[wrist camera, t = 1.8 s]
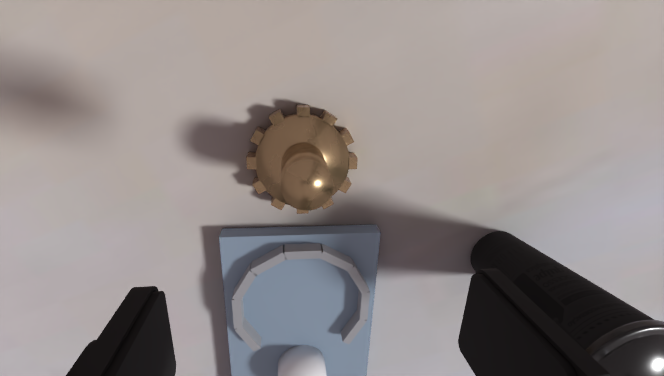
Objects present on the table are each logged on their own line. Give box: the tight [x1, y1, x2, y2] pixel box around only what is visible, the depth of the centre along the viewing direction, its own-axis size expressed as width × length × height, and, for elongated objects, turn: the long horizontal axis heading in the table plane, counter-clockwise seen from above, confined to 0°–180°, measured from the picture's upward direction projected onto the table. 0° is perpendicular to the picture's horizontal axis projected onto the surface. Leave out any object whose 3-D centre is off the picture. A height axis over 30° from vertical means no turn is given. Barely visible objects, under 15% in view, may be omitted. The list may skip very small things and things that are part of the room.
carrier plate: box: [219, 224, 381, 376], centre depth 29 cm, size 18×13×4 cm
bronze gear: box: [246, 105, 357, 214], centre depth 23 cm, size 8×8×6 cm
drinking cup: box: [471, 232, 664, 376], centre depth 23 cm, size 8×8×20 cm
